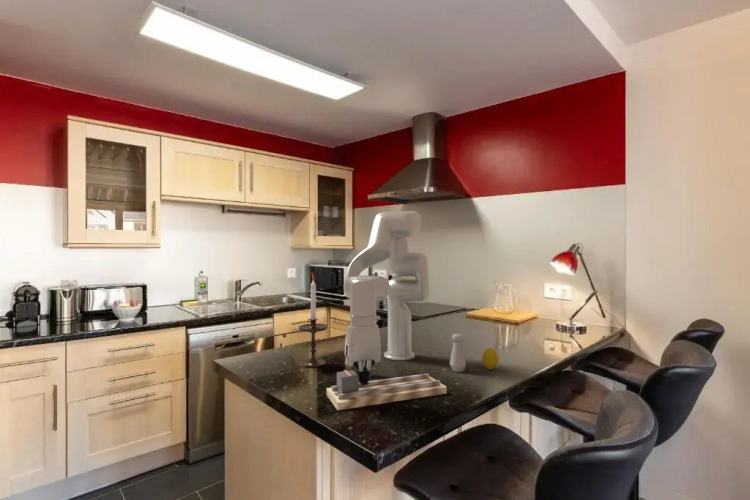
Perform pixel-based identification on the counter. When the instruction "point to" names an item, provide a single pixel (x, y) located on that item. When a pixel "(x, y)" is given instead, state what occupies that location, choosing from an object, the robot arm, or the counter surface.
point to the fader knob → (347, 382)
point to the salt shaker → (458, 354)
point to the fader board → (387, 391)
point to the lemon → (490, 358)
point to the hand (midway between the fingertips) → (363, 383)
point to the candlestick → (313, 332)
